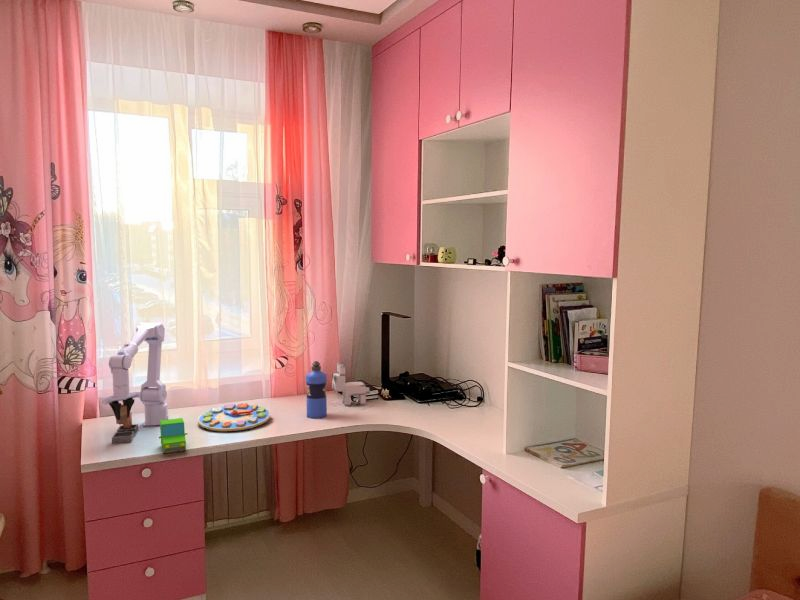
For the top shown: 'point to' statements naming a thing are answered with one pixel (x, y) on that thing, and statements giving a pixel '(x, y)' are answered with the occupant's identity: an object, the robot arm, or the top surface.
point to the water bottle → (316, 392)
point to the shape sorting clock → (234, 417)
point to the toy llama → (348, 387)
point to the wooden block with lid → (122, 415)
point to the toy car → (173, 435)
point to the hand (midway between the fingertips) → (122, 418)
